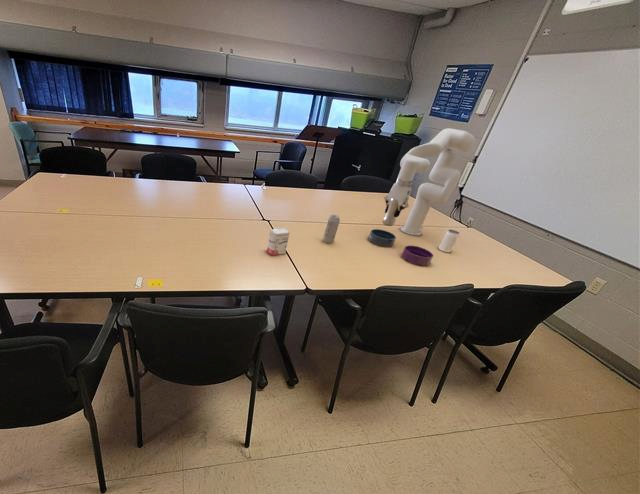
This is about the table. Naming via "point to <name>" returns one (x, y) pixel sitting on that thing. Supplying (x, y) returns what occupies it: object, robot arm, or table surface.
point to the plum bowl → (417, 255)
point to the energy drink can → (331, 229)
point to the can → (448, 240)
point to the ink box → (278, 241)
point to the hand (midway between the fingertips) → (391, 214)
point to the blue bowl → (382, 237)
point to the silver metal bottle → (391, 212)
